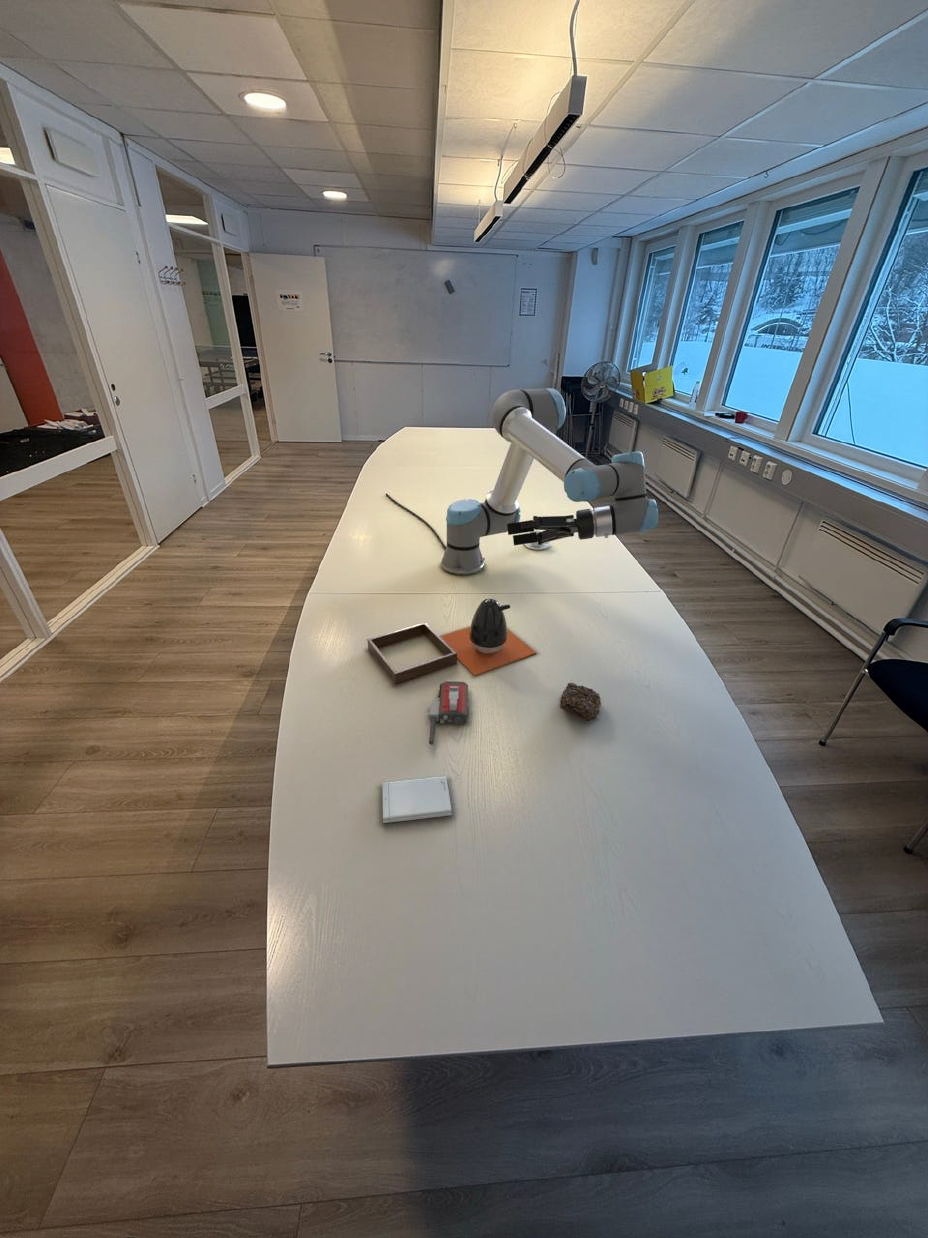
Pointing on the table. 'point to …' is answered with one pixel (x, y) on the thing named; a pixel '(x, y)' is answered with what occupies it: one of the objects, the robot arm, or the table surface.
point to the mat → (482, 661)
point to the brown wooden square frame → (416, 670)
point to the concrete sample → (581, 701)
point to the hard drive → (415, 799)
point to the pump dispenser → (489, 627)
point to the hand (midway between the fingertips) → (510, 535)
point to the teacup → (535, 545)
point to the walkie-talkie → (449, 705)
